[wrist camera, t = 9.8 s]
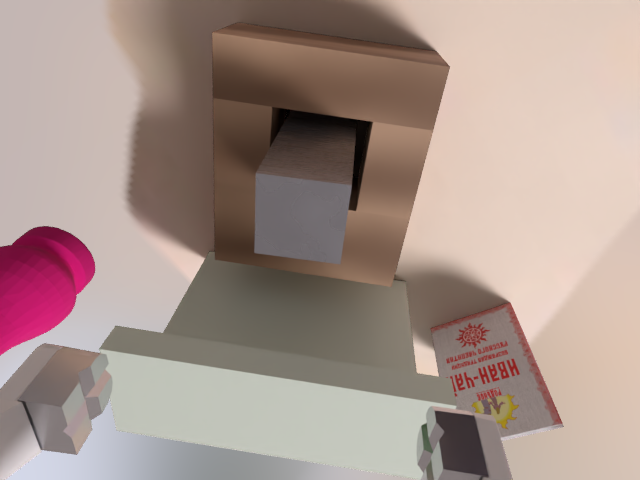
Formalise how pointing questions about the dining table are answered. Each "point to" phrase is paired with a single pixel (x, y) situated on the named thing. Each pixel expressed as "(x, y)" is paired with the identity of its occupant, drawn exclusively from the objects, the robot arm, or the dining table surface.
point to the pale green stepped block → (280, 370)
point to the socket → (329, 99)
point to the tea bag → (495, 372)
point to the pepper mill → (40, 282)
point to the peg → (306, 188)
